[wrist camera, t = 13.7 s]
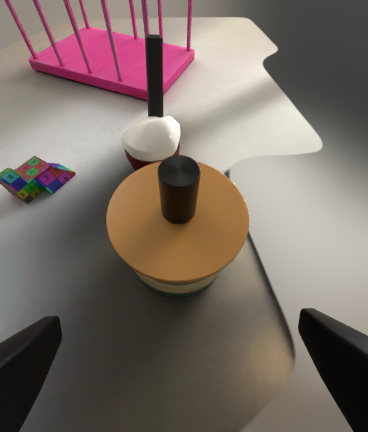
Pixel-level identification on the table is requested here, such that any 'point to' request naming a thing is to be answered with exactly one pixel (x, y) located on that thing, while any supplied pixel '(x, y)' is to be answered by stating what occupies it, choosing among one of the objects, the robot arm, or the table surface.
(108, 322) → the table surface
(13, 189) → the block
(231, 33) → the table surface
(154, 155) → the cocoa
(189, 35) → the file sorter
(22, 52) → the table surface
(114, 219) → the brass lid
